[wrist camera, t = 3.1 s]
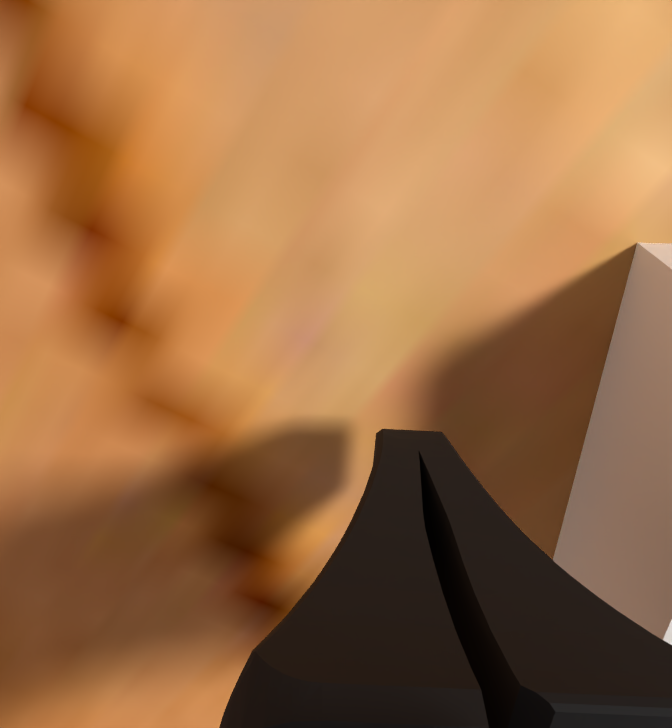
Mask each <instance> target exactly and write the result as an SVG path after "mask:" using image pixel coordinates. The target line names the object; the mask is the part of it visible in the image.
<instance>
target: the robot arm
mask: <svg viewBox="0 0 672 728" xmlns="http://www.w3.org/2000/svg"><path fill="white" fill-rule="evenodd" d="M220 728H672V645H671V644H669V643H667V642H665V641H664V640H662V639H660V638H659V637H657V636H655V635H654V634H652V633H650V632H649V631H647V630H646V629H644V628H643V627H641V626H640V625H638V624H637V623H635V622H634V621H632V620H631V619H629V618H628V617H626V616H625V615H623V614H622V613H620V612H619V611H617V610H616V609H614V608H613V607H612V606H610V605H609V604H607V603H606V602H605V601H603V600H602V599H600V598H599V597H598V596H596V595H595V594H594V593H592V592H591V591H590V590H589V589H587V588H586V587H585V586H583V585H582V584H581V583H580V582H578V581H577V580H576V579H574V578H573V577H572V576H571V575H569V574H568V573H567V572H566V571H565V570H563V569H562V568H561V567H560V566H559V565H557V564H556V563H555V562H554V561H553V560H552V559H551V558H550V557H548V556H547V555H546V554H545V553H544V552H543V551H542V550H541V549H540V548H539V547H538V546H536V545H535V544H534V543H533V542H532V541H531V540H530V539H529V538H528V537H527V536H526V535H525V534H524V533H523V532H522V531H521V530H520V529H519V528H518V527H517V526H516V525H515V524H514V523H513V521H512V520H511V519H510V518H509V517H508V516H507V515H506V514H505V513H504V512H503V510H502V509H501V508H500V507H499V506H498V505H497V504H496V502H495V501H494V500H493V499H492V497H491V496H490V495H489V494H488V493H487V491H486V490H485V489H484V488H483V486H482V485H481V484H480V483H479V482H478V480H477V479H476V478H475V476H474V475H473V474H472V472H471V471H470V470H469V468H468V467H467V466H466V464H465V463H464V462H463V460H462V459H461V458H460V456H459V455H458V453H457V452H456V451H455V449H454V448H453V446H452V445H451V443H450V442H449V441H448V439H447V438H446V436H445V435H444V434H443V433H442V432H434V431H413V430H393V429H382V430H380V431H379V432H377V433H376V441H375V451H374V461H373V467H372V471H371V474H370V477H369V480H368V482H367V485H366V488H365V491H364V494H363V496H362V498H361V501H360V503H359V505H358V507H357V509H356V512H355V514H354V516H353V518H352V520H351V522H350V524H349V526H348V528H347V530H346V532H345V534H344V536H343V537H342V539H341V541H340V543H339V544H338V546H337V548H336V549H335V551H334V553H333V554H332V556H331V557H330V559H329V560H328V562H327V563H326V565H325V566H324V568H323V569H322V571H321V573H320V574H319V575H318V577H317V578H316V580H315V581H314V582H313V584H312V585H311V586H310V588H309V589H308V590H307V591H306V592H305V594H304V595H303V596H302V597H301V599H300V600H299V601H298V602H297V604H296V605H295V606H294V607H293V608H292V610H291V611H290V612H289V613H288V615H287V616H286V617H285V618H284V619H283V620H282V621H281V622H280V623H279V624H278V625H277V626H276V627H275V628H274V629H273V630H272V632H271V633H270V634H269V635H268V636H267V637H266V638H265V639H264V640H263V641H262V642H261V643H260V644H259V645H258V646H257V647H256V648H255V649H254V650H253V651H252V653H251V655H250V657H249V659H248V661H247V663H246V665H245V667H244V669H243V671H242V673H241V675H240V677H239V679H238V681H237V683H236V685H235V687H234V690H233V692H232V694H231V696H230V699H229V701H228V704H227V706H226V709H225V712H224V715H223V717H222V721H221V724H220Z"/></svg>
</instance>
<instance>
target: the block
mask: <svg viewBox="0 0 672 728" xmlns="http://www.w3.org/2000/svg"><path fill="white" fill-rule="evenodd" d="M553 561H554V562H555V563H556V564H557V565H559V566H560V567H561V568H562V569H563V570H565V571H566V572H567V573H568V574H569V575H571V576H572V577H573V578H574V579H576V580H577V581H578V582H580V583H581V584H582V585H583V586H585V587H586V588H587V589H589V590H590V591H591V592H592V593H594V594H595V595H596V596H598V597H599V598H600V599H602V600H603V601H605V602H606V603H607V604H609V605H610V606H612V607H613V608H614V609H616V610H617V611H619V612H620V613H622V614H623V615H625V616H626V617H628V618H629V619H631V620H632V621H634V622H635V623H637V624H638V625H640V626H641V627H643V628H644V629H646V630H647V631H649V632H650V633H652V634H654V635H655V636H657V637H659V638H660V639H662V640H664V641H665V642H667V643H669V644H671V645H672V244H666V243H637V246H636V249H635V253H634V257H633V261H632V264H631V268H630V272H629V276H628V279H627V283H626V287H625V291H624V294H623V298H622V302H621V306H620V309H619V313H618V317H617V321H616V324H615V328H614V332H613V336H612V339H611V343H610V347H609V351H608V354H607V358H606V362H605V366H604V369H603V373H602V377H601V381H600V384H599V388H598V392H597V396H596V399H595V403H594V407H593V411H592V414H591V418H590V422H589V426H588V429H587V433H586V437H585V441H584V444H583V448H582V452H581V456H580V460H579V463H578V467H577V471H576V475H575V478H574V482H573V486H572V490H571V493H570V497H569V501H568V505H567V508H566V512H565V516H564V520H563V523H562V527H561V531H560V535H559V538H558V542H557V546H556V550H555V553H554V557H553Z"/></svg>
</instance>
